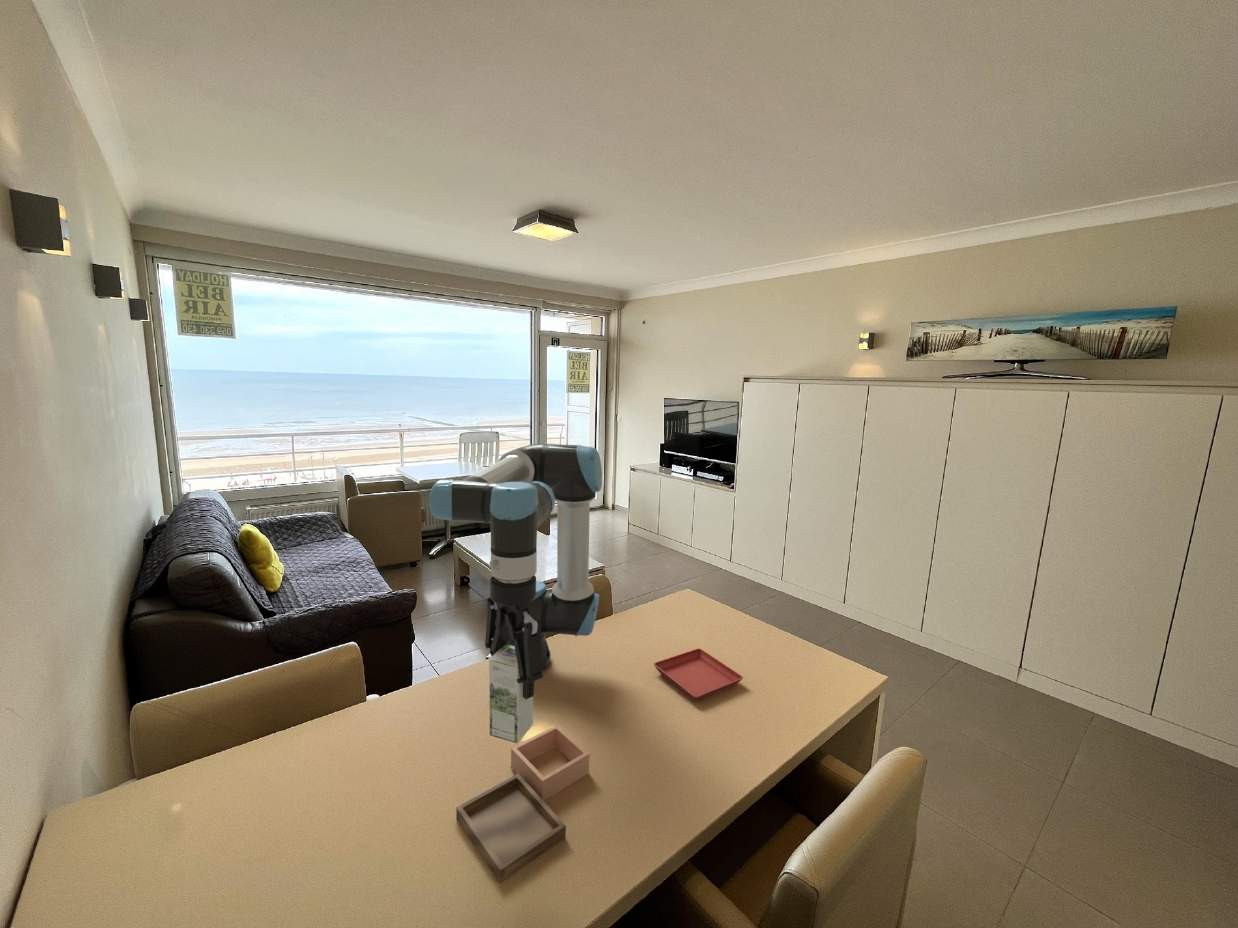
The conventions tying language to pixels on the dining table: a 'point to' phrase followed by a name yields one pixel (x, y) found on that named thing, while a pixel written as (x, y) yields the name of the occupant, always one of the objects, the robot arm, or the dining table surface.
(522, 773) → the holder
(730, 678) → the plant saucer
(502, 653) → the syrup box
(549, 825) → the tray
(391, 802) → the dining table surface
